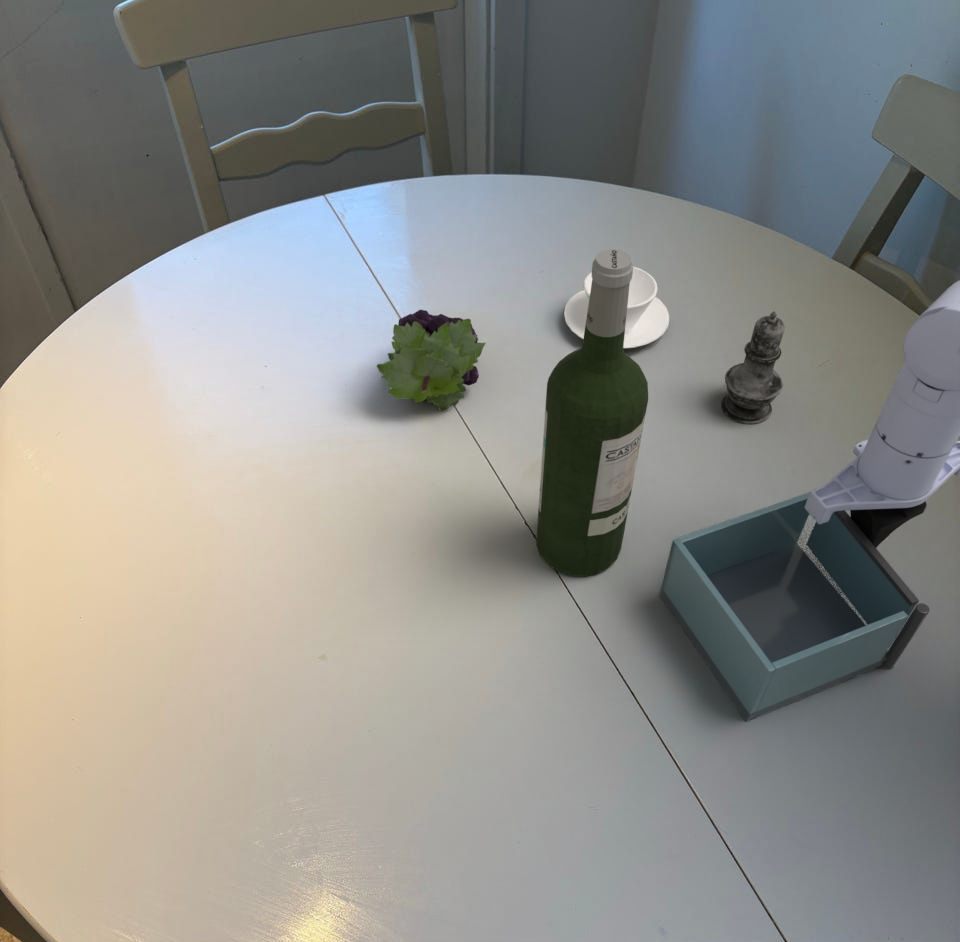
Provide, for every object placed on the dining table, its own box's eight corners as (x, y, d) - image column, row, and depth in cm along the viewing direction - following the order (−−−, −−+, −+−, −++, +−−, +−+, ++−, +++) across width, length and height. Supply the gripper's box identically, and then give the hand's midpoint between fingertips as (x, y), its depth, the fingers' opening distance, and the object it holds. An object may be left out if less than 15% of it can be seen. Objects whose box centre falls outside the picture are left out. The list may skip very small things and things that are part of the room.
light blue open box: (896, 666, 77) (932, 610, 71) (749, 727, 74) (774, 674, 67) (794, 545, 85) (819, 485, 79) (658, 594, 82) (673, 536, 76)
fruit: (472, 374, 105) (473, 438, 93) (380, 361, 104) (369, 423, 92) (487, 288, 99) (490, 343, 87) (390, 272, 98) (379, 326, 86)
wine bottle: (614, 585, 83) (666, 301, 59) (528, 569, 84) (545, 284, 60) (626, 521, 87) (678, 234, 64) (544, 507, 88) (566, 220, 65)
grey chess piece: (708, 395, 98) (732, 299, 89) (758, 384, 99) (786, 288, 90) (734, 431, 95) (761, 335, 86) (784, 419, 96) (817, 323, 87)
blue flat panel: (903, 641, 77) (931, 596, 72) (884, 647, 77) (912, 603, 72) (822, 539, 84) (844, 491, 79) (805, 544, 84) (825, 497, 79)
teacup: (666, 297, 109) (673, 257, 105) (668, 361, 102) (676, 321, 98) (565, 291, 110) (569, 251, 106) (560, 354, 103) (563, 314, 99)
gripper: (956, 374, 73) (896, 492, 83) (802, 424, 69) (760, 540, 80) (1020, 431, 69) (948, 547, 79) (861, 486, 65) (808, 600, 76)
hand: (857, 548), depth 79 cm, fingers closed
